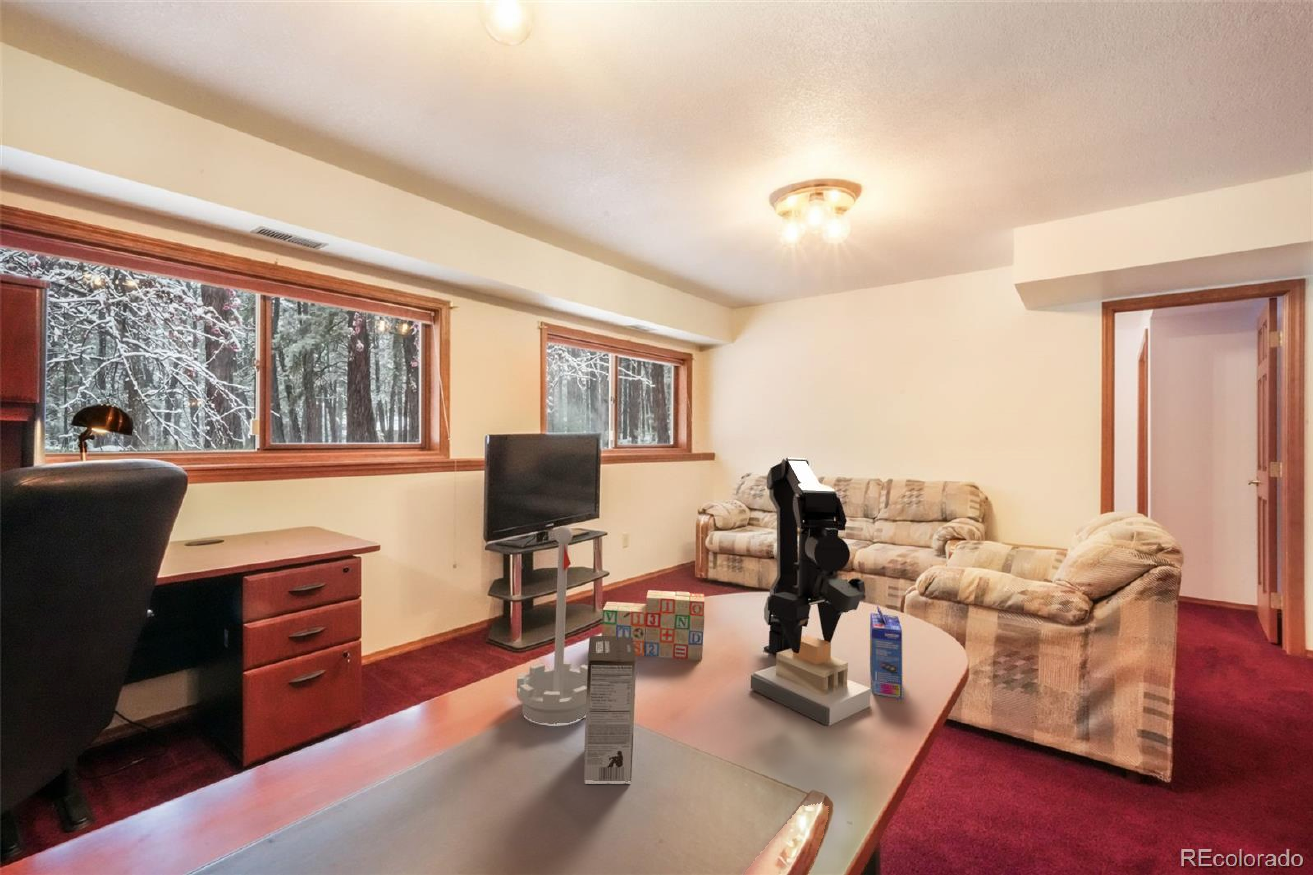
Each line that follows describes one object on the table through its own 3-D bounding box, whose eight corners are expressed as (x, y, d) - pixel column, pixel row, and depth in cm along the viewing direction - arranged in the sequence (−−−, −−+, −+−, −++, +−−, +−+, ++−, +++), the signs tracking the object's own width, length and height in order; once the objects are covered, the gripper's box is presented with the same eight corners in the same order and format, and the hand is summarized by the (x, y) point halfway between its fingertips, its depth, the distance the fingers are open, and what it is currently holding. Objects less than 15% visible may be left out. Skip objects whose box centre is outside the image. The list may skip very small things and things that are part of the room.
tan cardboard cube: (806, 651, 102) (807, 634, 102) (830, 659, 98) (830, 642, 98) (793, 655, 100) (793, 638, 100) (816, 664, 96) (817, 647, 96)
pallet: (800, 666, 105) (800, 645, 105) (847, 685, 97) (847, 662, 97) (775, 675, 101) (776, 652, 101) (823, 695, 93) (823, 671, 93)
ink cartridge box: (868, 673, 110) (870, 600, 111) (898, 678, 109) (900, 604, 109) (869, 694, 101) (872, 614, 101) (902, 699, 99) (905, 618, 100)
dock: (794, 674, 109) (795, 658, 109) (870, 706, 96) (870, 688, 96) (750, 690, 101) (750, 673, 101) (826, 727, 88) (826, 708, 88)
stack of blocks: (600, 654, 116) (602, 594, 116) (605, 643, 122) (607, 587, 123) (702, 660, 115) (705, 600, 115) (702, 649, 121) (704, 592, 121)
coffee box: (585, 747, 80) (589, 634, 80) (629, 747, 81) (633, 635, 81) (581, 786, 71) (586, 659, 71) (632, 785, 72) (637, 659, 72)
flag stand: (510, 698, 95) (516, 521, 95) (584, 687, 100) (590, 519, 100) (523, 736, 83) (531, 533, 83) (607, 721, 88) (614, 531, 88)
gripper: (822, 574, 87) (819, 675, 87) (885, 562, 99) (882, 651, 98) (766, 561, 96) (763, 652, 95) (830, 551, 107) (828, 633, 107)
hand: (812, 647), depth 99 cm, fingers open, 9 cm apart
